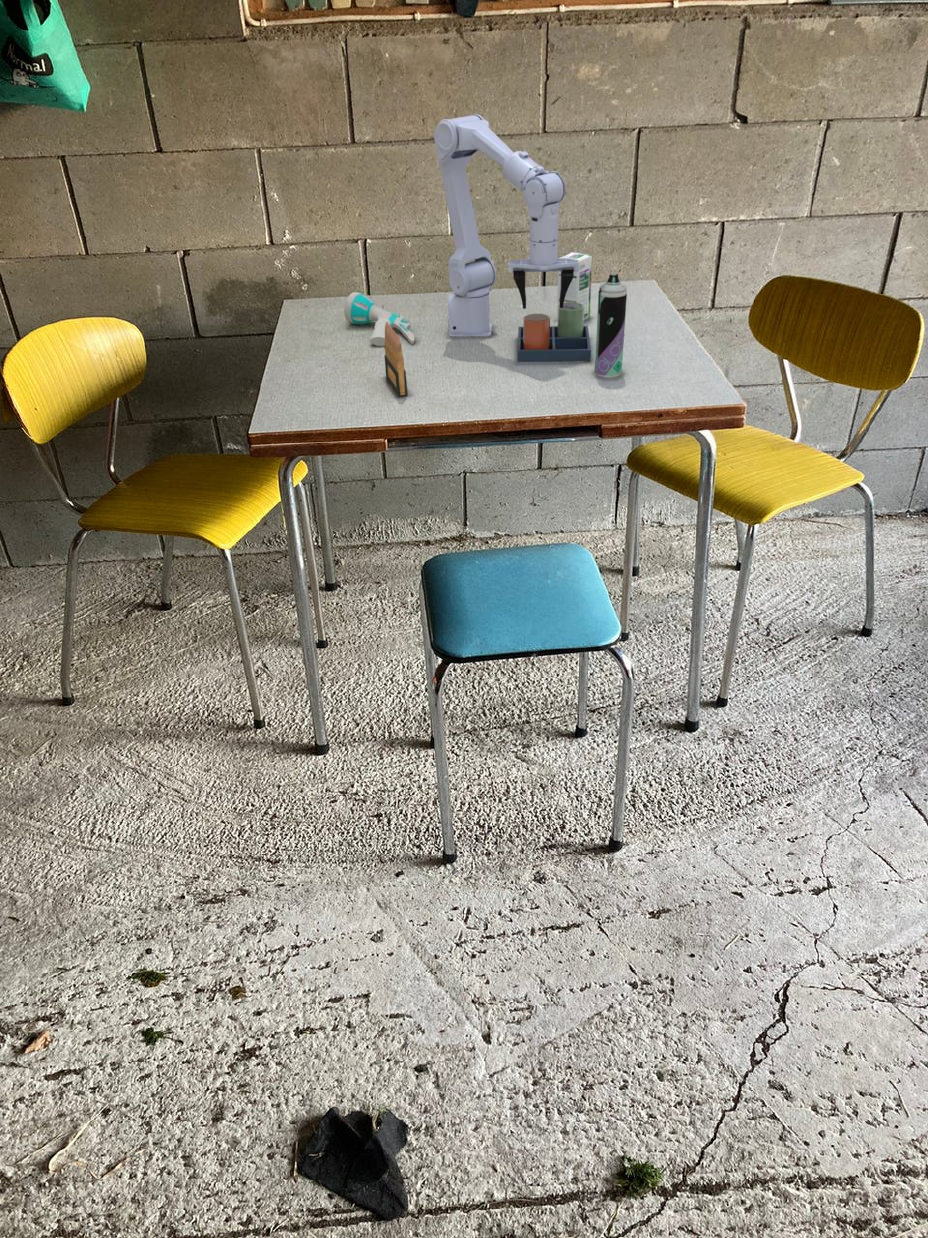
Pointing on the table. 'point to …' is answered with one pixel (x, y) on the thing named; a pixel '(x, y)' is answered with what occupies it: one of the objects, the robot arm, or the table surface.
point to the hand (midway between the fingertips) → (542, 306)
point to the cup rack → (557, 348)
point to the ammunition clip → (394, 362)
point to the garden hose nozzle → (375, 318)
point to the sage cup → (570, 320)
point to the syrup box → (578, 282)
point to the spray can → (610, 327)
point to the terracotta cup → (536, 332)
